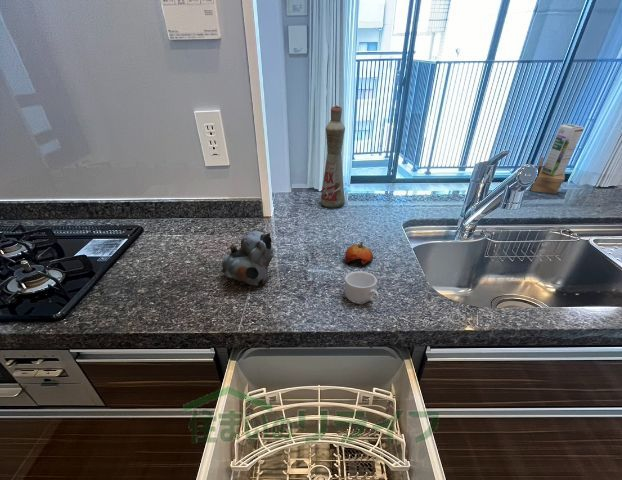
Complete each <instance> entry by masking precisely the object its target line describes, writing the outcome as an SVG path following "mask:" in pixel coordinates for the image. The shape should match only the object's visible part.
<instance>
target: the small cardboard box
mask: <svg viewBox="0 0 622 480" xmlns="http://www.w3.org/2000/svg"><path fill="white" fill-rule="evenodd" d="M544 160H545V157H540V159H539V162H538V164H537V167H536V169H538V176H537V179H536V181H535V183H532V186H531V189H530V191H531V192H537V193H544V194H550V195H551V194H552V195H557V194H558V192H559V190H560V187H561V185H562V184H564V182H565V179H566V170H565V171H564V174H561V175H556V176H551V175H549V174H546V173H544V172H542V169H543V166H544V165H543V164H544Z"/></svg>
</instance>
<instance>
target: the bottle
mask: <svg viewBox="0 0 622 480" xmlns="http://www.w3.org/2000/svg"><path fill="white" fill-rule="evenodd" d="M342 113H343V108H342V107H341V106H339V105H338V104H335V105H334V106H331V108H330V120H329V122H328V123H327V124H326V126H325V135H326V136H325V138H326V149H327V150H326V151H327V154H326V159H325V166H324V173H323V181H322V187H321V195H320V204H321V205H322V206H323V207H326V208H330V209H331V208H340V207H342V206H344V204H345V201H346V198H345V188H344V175H343V174H344V173H343V160H342V151H343V145H344V137H345V131H346V127H345V125H344V123H343V122H342Z"/></svg>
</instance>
